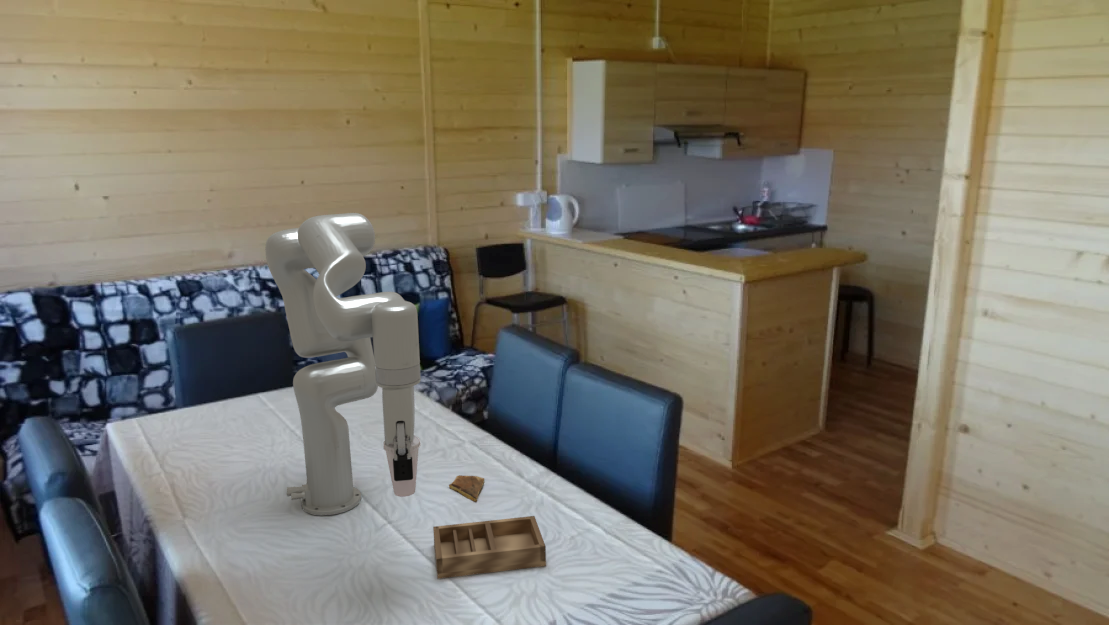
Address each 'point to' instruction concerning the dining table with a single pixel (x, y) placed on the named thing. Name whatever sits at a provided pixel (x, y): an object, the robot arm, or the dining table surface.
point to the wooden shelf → (488, 547)
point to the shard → (468, 486)
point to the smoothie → (409, 486)
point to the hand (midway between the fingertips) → (403, 470)
